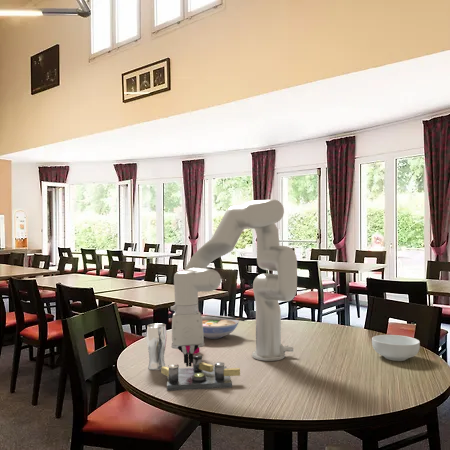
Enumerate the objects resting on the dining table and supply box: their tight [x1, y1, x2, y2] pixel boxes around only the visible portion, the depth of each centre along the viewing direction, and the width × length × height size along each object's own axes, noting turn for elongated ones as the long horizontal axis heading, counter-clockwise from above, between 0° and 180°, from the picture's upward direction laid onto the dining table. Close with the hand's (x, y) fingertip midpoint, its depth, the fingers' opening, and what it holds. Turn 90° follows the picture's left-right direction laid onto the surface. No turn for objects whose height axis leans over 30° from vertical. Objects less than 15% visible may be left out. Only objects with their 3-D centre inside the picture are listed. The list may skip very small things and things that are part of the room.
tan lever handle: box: [192, 354, 214, 372], centre depth 150 cm, size 8×3×5 cm, turn 49°
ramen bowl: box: [202, 314, 248, 340], centre depth 203 cm, size 25×23×8 cm
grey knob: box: [213, 361, 241, 380], centre depth 144 cm, size 8×3×5 cm, turn 96°
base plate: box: [166, 365, 233, 392], centre depth 147 cm, size 20×16×3 cm
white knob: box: [160, 363, 180, 382], centre depth 144 cm, size 8×3×5 cm, turn 38°
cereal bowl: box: [371, 334, 421, 362], centre depth 170 cm, size 17×17×7 cm
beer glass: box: [146, 322, 167, 371], centre depth 160 cm, size 7×7×15 cm
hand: (188, 365), depth 147 cm, fingers closed
